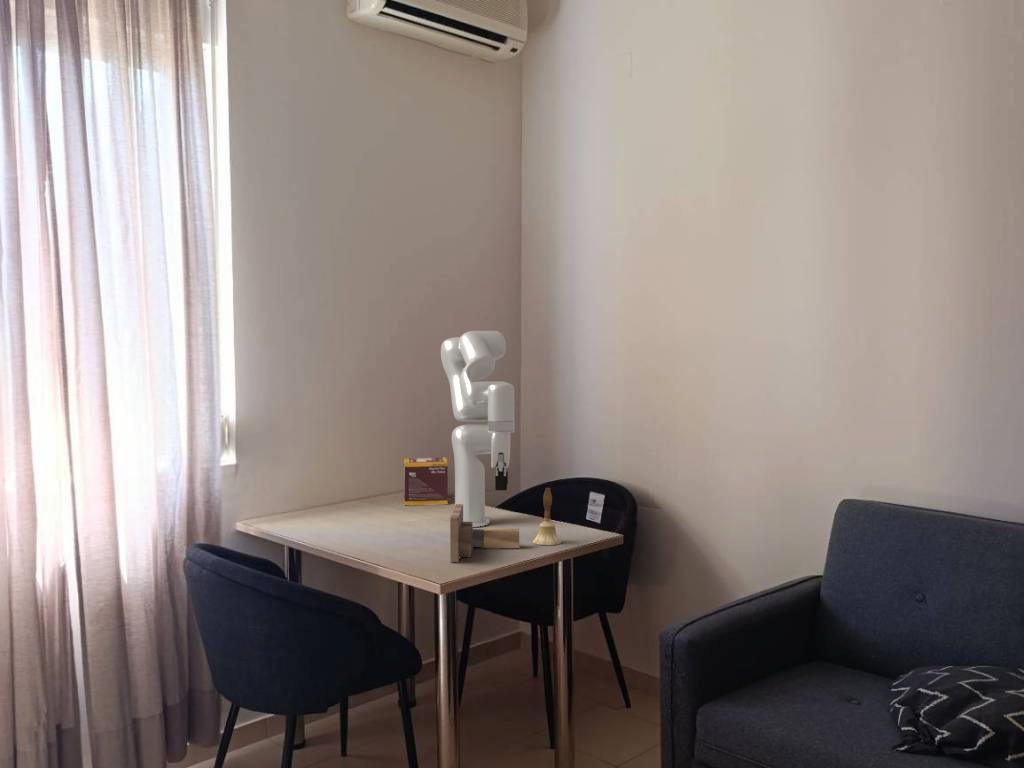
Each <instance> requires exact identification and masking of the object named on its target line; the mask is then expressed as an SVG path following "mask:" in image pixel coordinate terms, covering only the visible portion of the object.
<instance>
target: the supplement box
mask: <svg viewBox="0 0 1024 768" xmlns="http://www.w3.org/2000/svg"><path fill="white" fill-rule="evenodd" d="M448 462H449V461H448V460H447V458H446V457H444V456H443V457H411V458H407V457H406V458H403V503H404V504H405V505H418V506H425V505H424V504H449V503H448V502H449V497H448V491H449V490H448V489H449V488H448V486H449V485H448V483H449V482H448V480H449V479H448V475H449V474H448V470H449V469H448V464H449V463H448ZM405 505H404V506H405Z"/></svg>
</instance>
